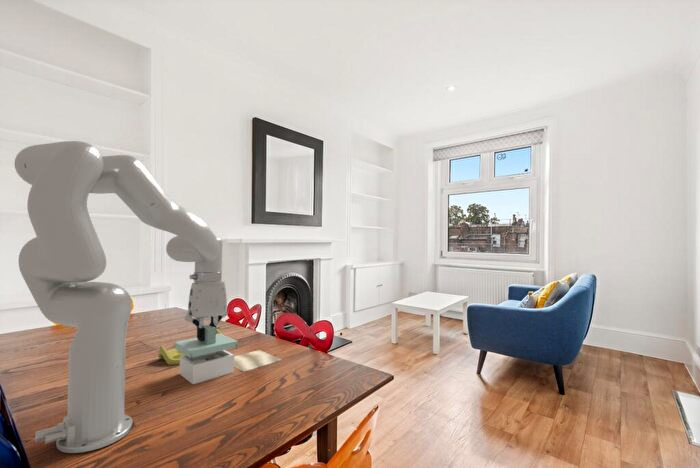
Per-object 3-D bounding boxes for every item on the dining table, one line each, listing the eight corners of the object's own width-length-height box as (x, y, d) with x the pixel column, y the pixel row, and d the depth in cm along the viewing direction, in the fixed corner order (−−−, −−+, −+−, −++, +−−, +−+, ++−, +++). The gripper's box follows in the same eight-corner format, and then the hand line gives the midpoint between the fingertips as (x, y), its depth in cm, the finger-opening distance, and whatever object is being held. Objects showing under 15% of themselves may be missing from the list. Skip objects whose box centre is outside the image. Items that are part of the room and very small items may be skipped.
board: (243, 374, 102) (243, 371, 102) (222, 362, 111) (222, 359, 111) (282, 362, 112) (282, 359, 112) (259, 352, 121) (259, 349, 121)
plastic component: (171, 362, 106) (159, 342, 111) (168, 379, 108) (156, 359, 114) (229, 342, 121) (216, 326, 126) (225, 358, 123) (212, 341, 129)
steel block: (194, 379, 96) (194, 365, 96) (188, 375, 99) (188, 361, 99) (208, 375, 99) (208, 361, 99) (202, 371, 102) (202, 358, 102)
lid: (189, 357, 91) (190, 334, 92) (174, 348, 100) (174, 326, 100) (237, 347, 101) (237, 326, 102) (219, 339, 110) (220, 319, 110)
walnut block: (211, 374, 100) (211, 360, 100) (205, 370, 103) (205, 357, 103) (224, 370, 103) (224, 357, 103) (218, 367, 105) (218, 354, 105)
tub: (192, 387, 93) (193, 365, 93) (179, 376, 100) (179, 356, 100) (233, 374, 102) (234, 354, 102) (218, 365, 109) (219, 347, 109)
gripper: (184, 280, 93) (182, 348, 92) (239, 277, 104) (237, 337, 104) (175, 278, 98) (173, 342, 97) (227, 275, 109) (226, 332, 109)
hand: (206, 339), depth 100 cm, fingers closed on lid
